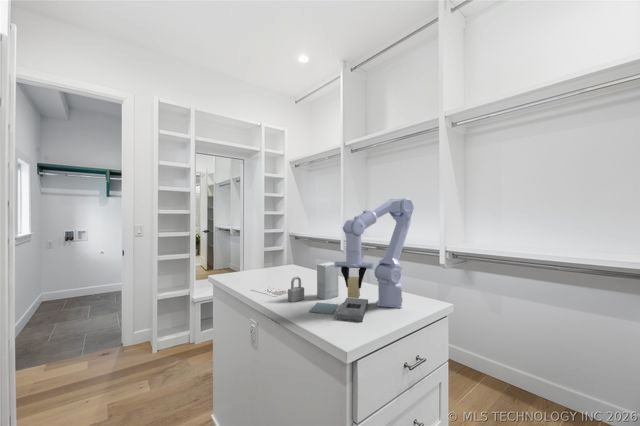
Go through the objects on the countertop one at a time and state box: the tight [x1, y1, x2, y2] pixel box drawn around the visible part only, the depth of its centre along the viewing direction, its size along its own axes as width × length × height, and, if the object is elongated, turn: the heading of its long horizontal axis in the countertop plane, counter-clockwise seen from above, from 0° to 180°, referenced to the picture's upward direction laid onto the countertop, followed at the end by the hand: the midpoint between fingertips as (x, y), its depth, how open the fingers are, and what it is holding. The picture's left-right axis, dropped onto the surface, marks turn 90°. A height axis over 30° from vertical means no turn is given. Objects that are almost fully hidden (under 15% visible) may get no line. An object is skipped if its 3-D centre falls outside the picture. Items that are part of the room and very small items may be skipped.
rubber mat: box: [308, 302, 339, 315], centre depth 111 cm, size 9×11×1 cm
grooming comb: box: [265, 289, 288, 296], centre depth 136 cm, size 18×10×1 cm, turn 51°
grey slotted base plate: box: [336, 297, 369, 323], centre depth 108 cm, size 9×20×2 cm, turn 165°
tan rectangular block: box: [347, 275, 361, 299], centre depth 108 cm, size 4×4×7 cm
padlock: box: [287, 276, 305, 303], centre depth 122 cm, size 7×4×10 cm, turn 137°
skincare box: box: [316, 261, 339, 301], centre depth 127 cm, size 8×6×15 cm
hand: (353, 287), depth 108 cm, fingers closed on tan rectangular block, 4 cm apart
